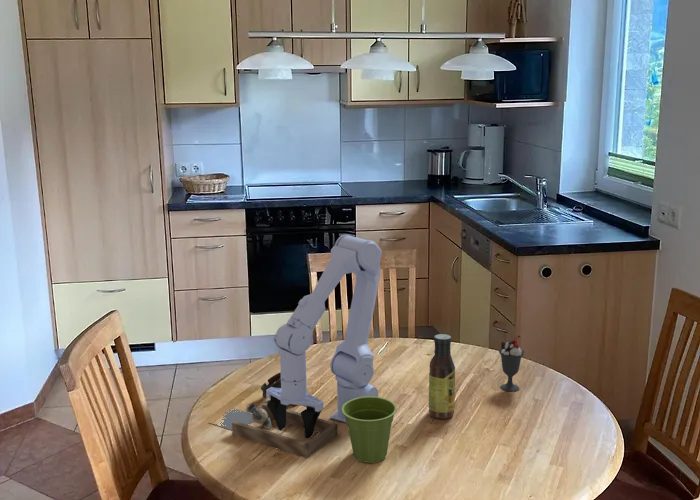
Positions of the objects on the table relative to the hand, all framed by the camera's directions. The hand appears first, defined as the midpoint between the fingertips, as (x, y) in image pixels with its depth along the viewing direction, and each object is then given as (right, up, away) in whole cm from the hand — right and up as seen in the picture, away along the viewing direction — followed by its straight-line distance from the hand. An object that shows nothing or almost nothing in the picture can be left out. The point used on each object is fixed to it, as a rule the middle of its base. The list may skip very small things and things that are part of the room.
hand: (295, 432), depth 165 cm
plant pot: (+17, -3, -7) cm, 19 cm away
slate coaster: (-15, 0, +10) cm, 18 cm away
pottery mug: (-4, +3, +21) cm, 21 cm away
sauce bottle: (+35, +1, +11) cm, 37 cm away
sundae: (+54, +5, +26) cm, 60 cm away
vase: (-9, 0, +6) cm, 11 cm away
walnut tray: (-3, -1, +2) cm, 3 cm away
